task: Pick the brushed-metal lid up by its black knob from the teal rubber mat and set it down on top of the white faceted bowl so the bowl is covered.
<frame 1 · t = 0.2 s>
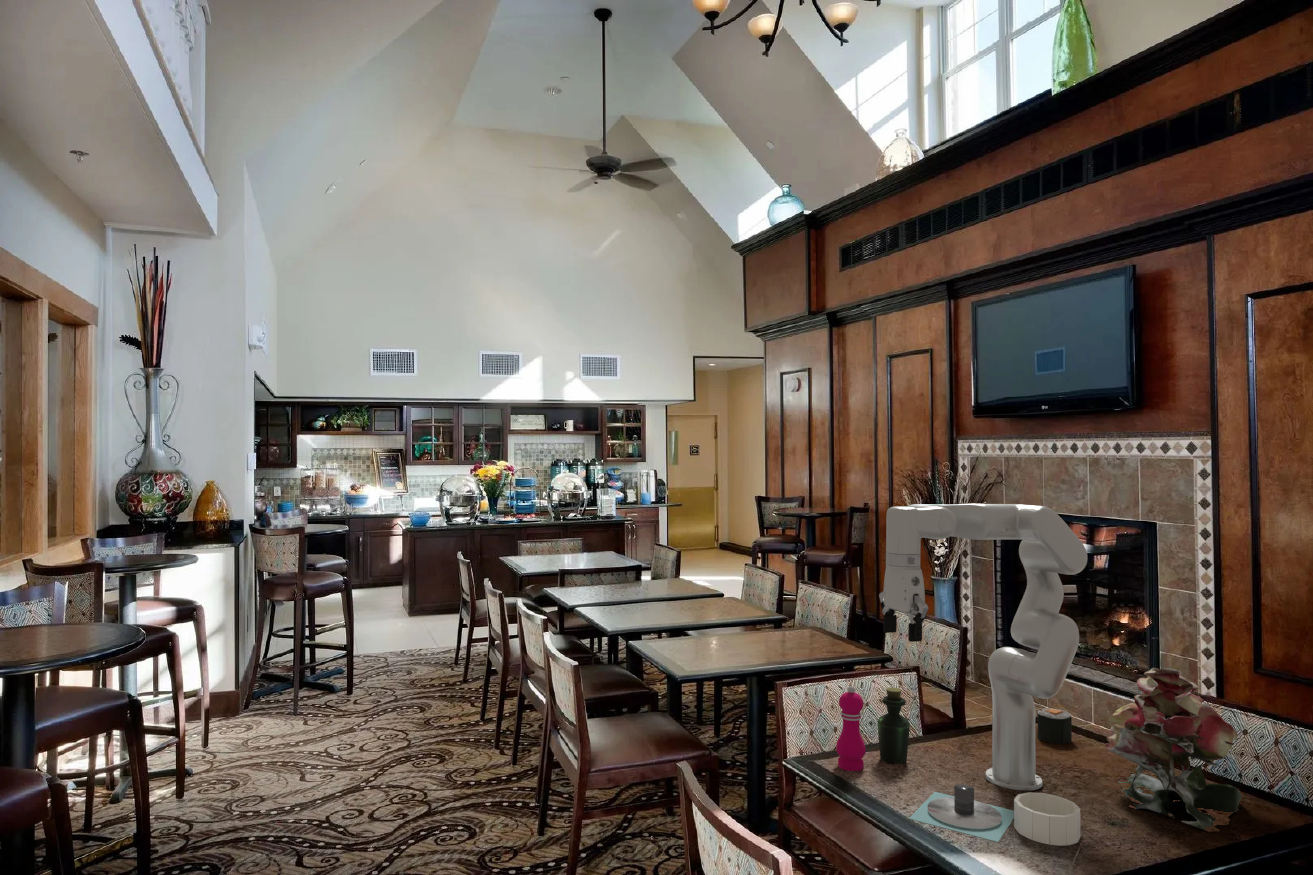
hand: (902, 636, 189), 37 cm above the table, tool pointing down, fingers open, 9 cm apart
teal mat: (964, 816, 179), on the table
potion bottle: (893, 761, 212), on the table
rose bouquet: (1168, 801, 190), on the table
white faceted bowl: (1046, 833, 171), on the table
metal lid: (964, 814, 179), resting on teal mat
pepper mill: (850, 767, 207), on the table
sushi: (1054, 739, 231), on the table
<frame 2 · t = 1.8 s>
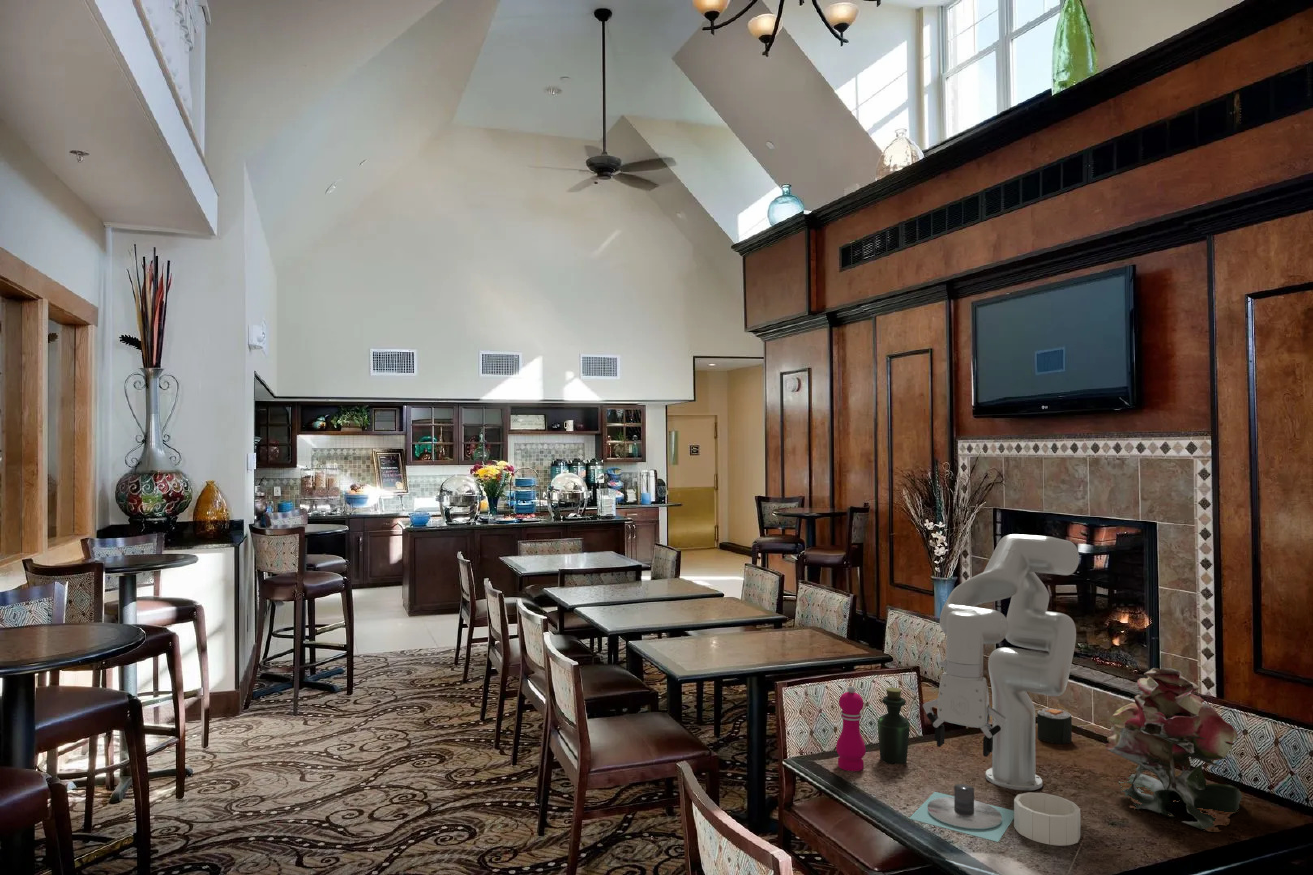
hand: (963, 749, 179), 14 cm above the table, tool pointing down, fingers open, 9 cm apart
nothing on the table moved.
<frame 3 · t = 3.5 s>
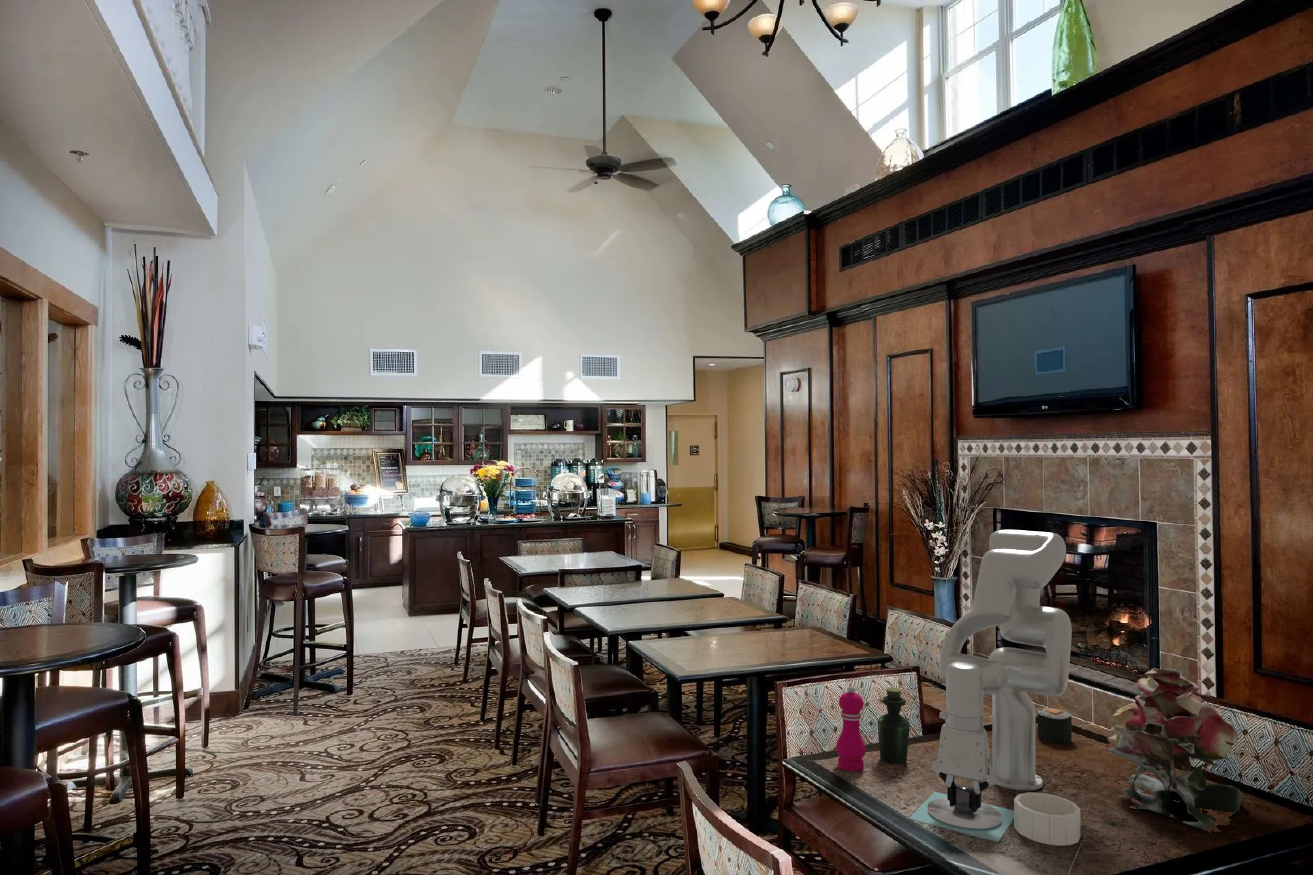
hand: (964, 806, 179), 2 cm above the table, tool pointing down, fingers closed on metal lid, 4 cm apart
metal lid: (964, 814, 179), resting on teal mat, touching gripper
everything else where it was.
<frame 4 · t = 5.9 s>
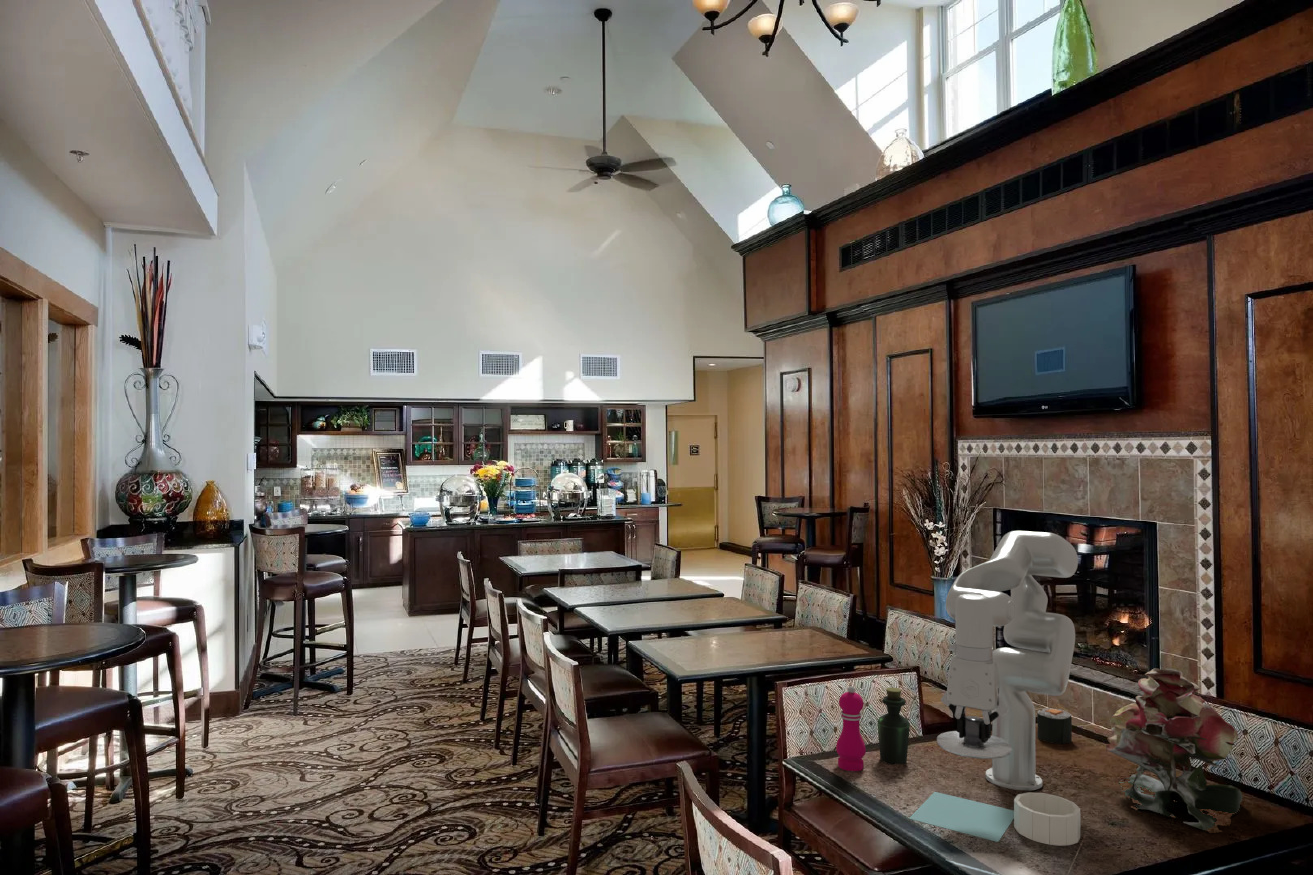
hand: (973, 737, 179), 17 cm above the table, tool pointing down, fingers closed on metal lid, 4 cm apart
metal lid: (973, 746, 179), point 15 cm above the table, touching gripper
everything else where it was.
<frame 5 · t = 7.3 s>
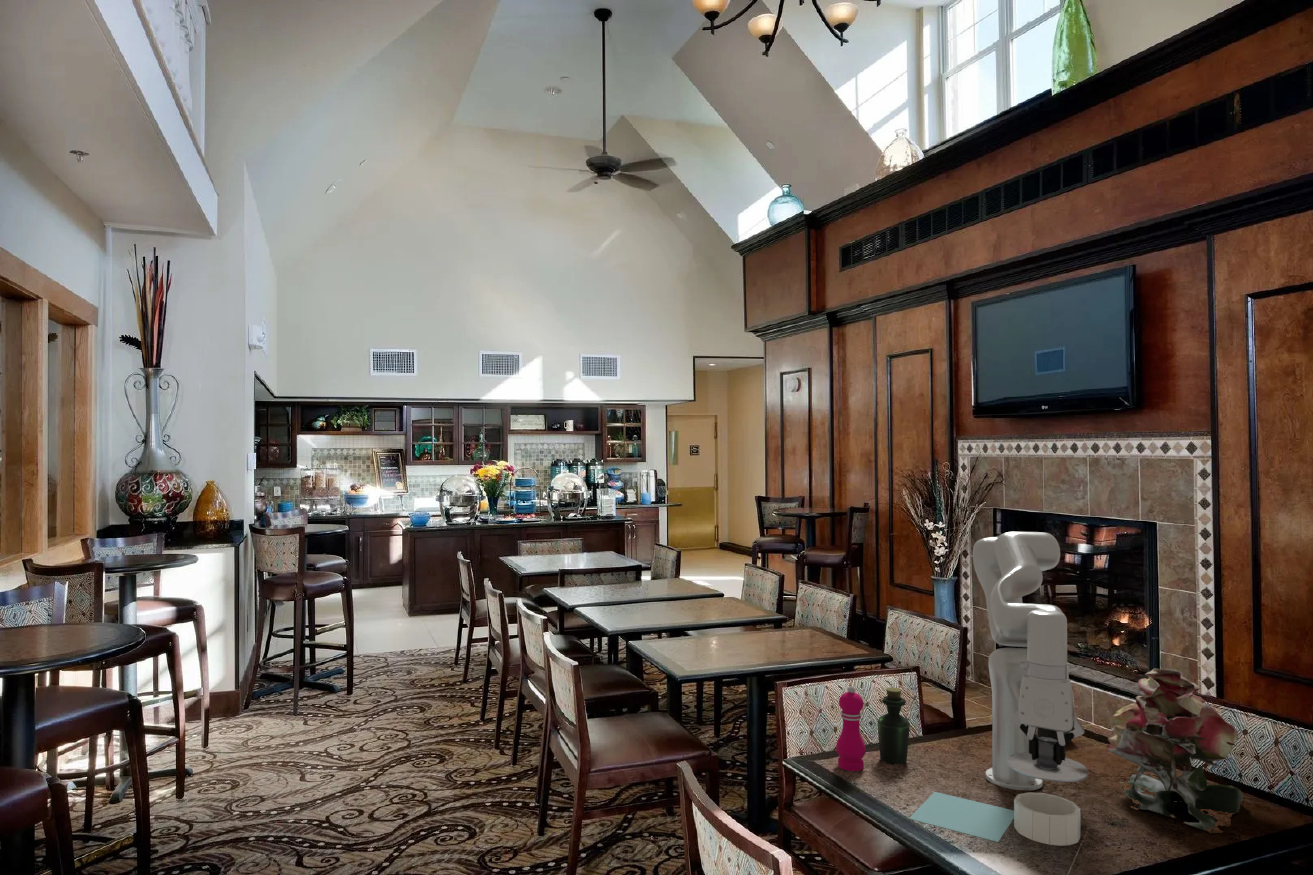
hand: (1047, 759, 172), 15 cm above the table, tool pointing down, fingers closed on metal lid, 4 cm apart
metal lid: (1047, 768, 171), point 13 cm above the table, touching gripper
everything else where it was.
when the fingers open (9 cm above the table, at t = 8.5 s): metal lid drops 1 cm, resting on white faceted bowl.
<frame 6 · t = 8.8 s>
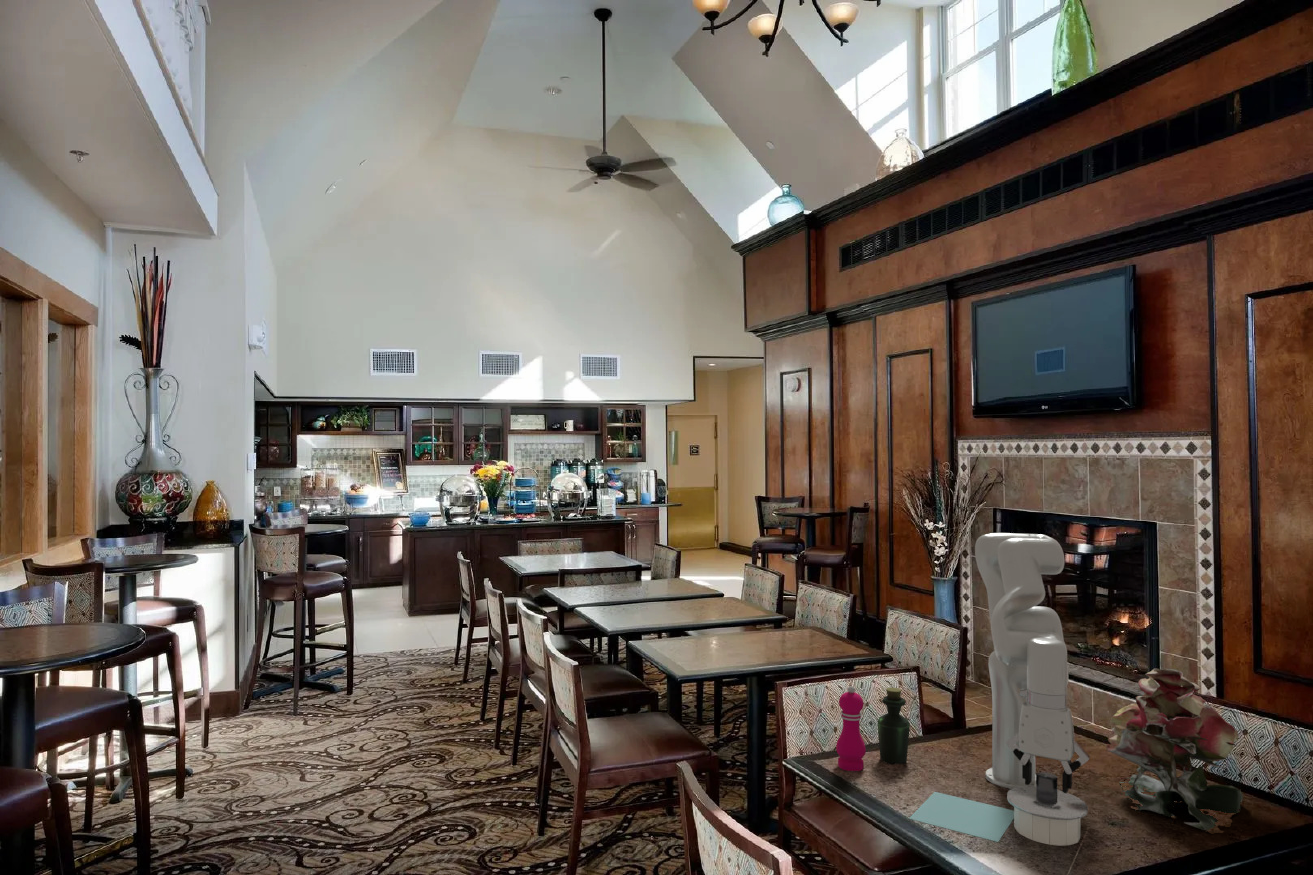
hand: (1046, 786, 172), 10 cm above the table, tool pointing down, fingers open, 6 cm apart
metal lid: (1046, 804, 172), point 6 cm above the table, touching white faceted bowl
everything else where it was.
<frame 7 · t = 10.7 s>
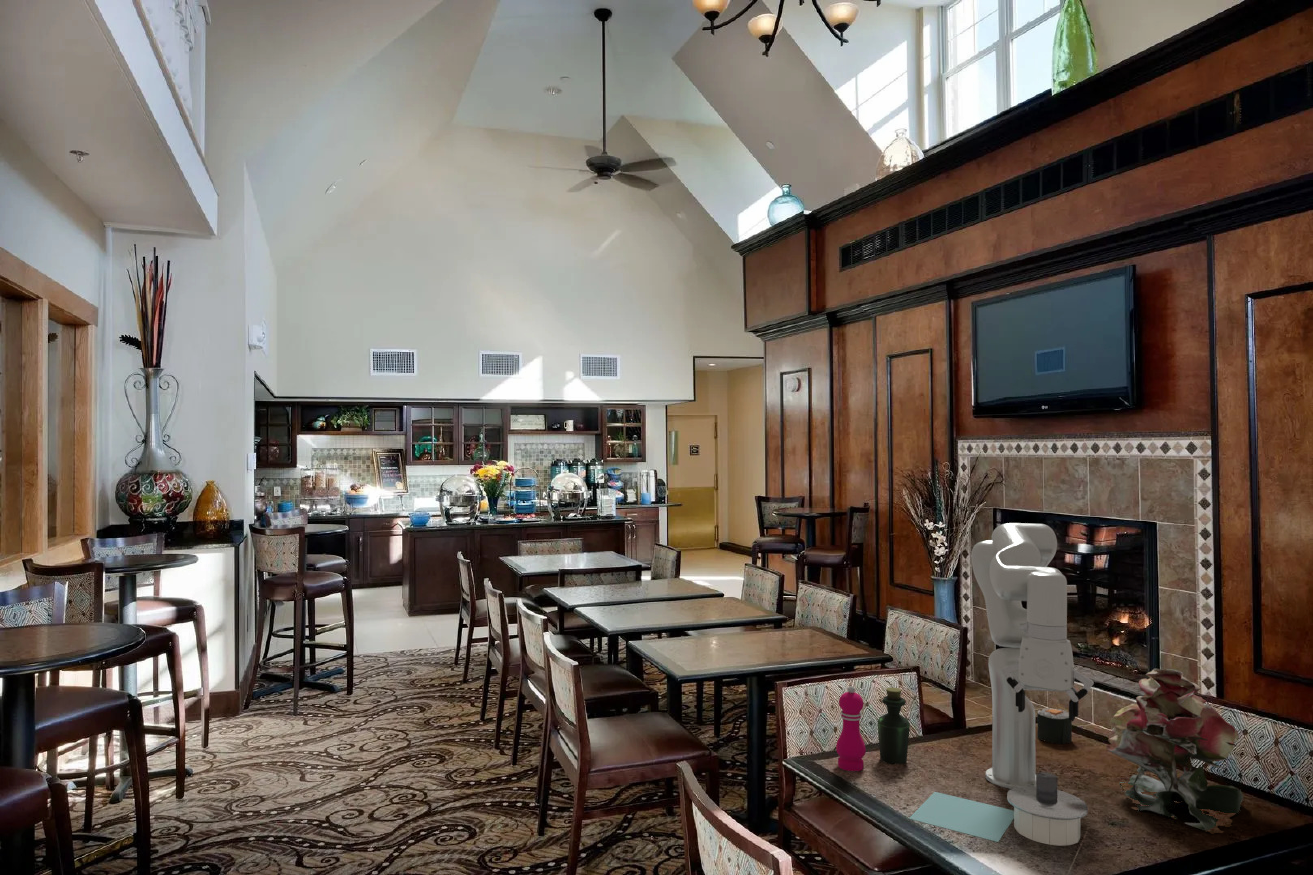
hand: (1046, 714, 172), 24 cm above the table, tool pointing down, fingers open, 9 cm apart
nothing on the table moved.
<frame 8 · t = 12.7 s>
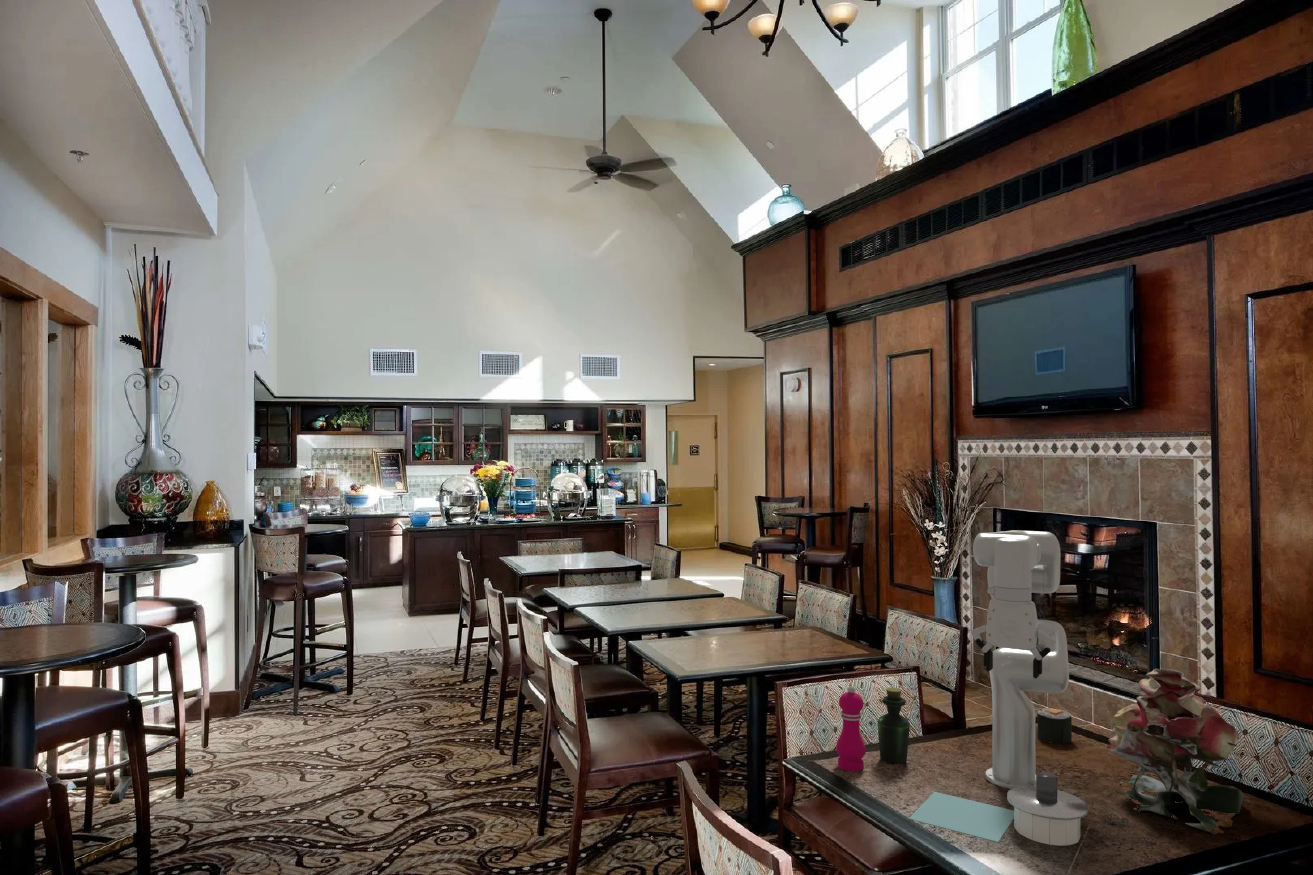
hand: (1012, 673, 182), 30 cm above the table, tool pointing down, fingers open, 9 cm apart
nothing on the table moved.
at the end: metal lid 0.0 cm off-centre on the white faceted bowl, point 6.0 cm above the white faceted bowl's base; the gripper is holding nothing; metal lid tilted 0° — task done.
